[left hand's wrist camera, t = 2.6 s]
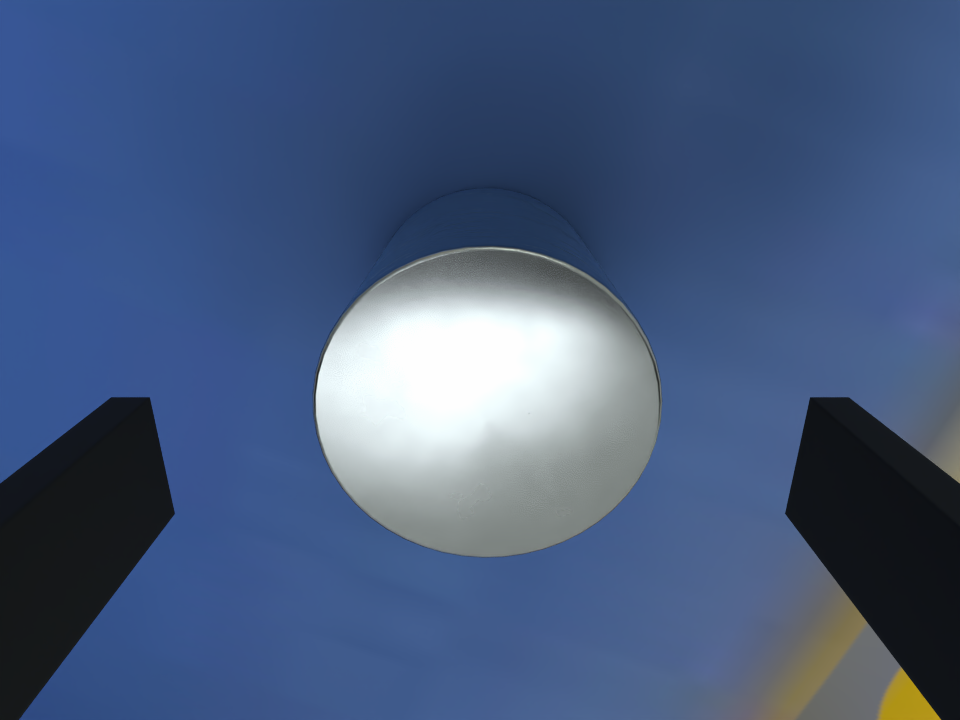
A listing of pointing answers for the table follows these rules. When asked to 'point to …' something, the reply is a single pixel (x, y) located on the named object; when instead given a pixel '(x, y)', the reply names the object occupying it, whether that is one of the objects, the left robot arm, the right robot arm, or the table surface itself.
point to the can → (487, 382)
